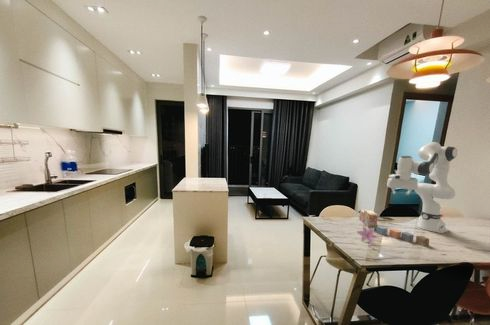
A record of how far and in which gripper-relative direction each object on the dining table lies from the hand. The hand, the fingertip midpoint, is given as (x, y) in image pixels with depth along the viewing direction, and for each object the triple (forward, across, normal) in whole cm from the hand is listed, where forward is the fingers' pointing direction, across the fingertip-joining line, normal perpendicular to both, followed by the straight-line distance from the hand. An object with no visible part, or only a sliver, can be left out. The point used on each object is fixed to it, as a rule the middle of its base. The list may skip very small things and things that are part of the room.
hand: (400, 194), depth 153 cm
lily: (+34, +28, +16) cm, 47 cm away
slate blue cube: (+33, +10, -1) cm, 34 cm away
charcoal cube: (+33, -4, +8) cm, 34 cm away
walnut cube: (+33, -11, +12) cm, 37 cm away
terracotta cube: (+33, +2, +4) cm, 33 cm away
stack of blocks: (+33, +12, -20) cm, 40 cm away
